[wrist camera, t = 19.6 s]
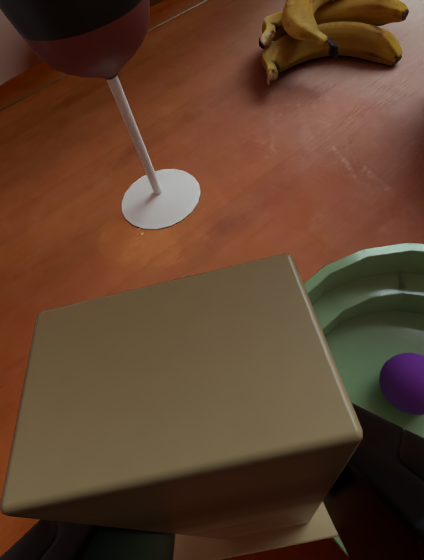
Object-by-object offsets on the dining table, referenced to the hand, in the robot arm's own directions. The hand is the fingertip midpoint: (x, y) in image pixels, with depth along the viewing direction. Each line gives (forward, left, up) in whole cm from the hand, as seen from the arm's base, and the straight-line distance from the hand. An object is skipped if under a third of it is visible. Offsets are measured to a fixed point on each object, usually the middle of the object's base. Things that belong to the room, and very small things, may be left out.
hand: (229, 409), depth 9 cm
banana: (+34, -25, -14) cm, 44 cm away
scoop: (+1, 0, -7) cm, 7 cm away
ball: (0, -9, -11) cm, 15 cm away
